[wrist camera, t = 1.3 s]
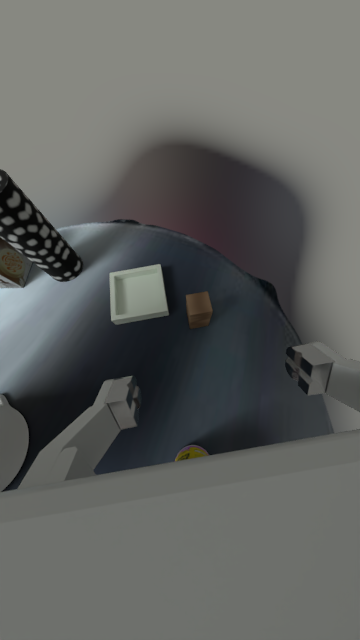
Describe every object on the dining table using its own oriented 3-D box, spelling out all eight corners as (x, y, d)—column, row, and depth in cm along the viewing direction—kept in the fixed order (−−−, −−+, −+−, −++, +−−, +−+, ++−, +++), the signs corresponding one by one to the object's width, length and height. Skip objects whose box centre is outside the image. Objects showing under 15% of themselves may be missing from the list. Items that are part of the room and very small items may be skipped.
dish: (116, 324, 39) (111, 320, 37) (114, 279, 43) (109, 273, 41) (169, 315, 39) (167, 310, 37) (161, 270, 43) (160, 264, 41)
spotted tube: (76, 249, 47) (1, 161, 28) (88, 271, 45) (14, 189, 26) (47, 264, 46) (-52, 182, 27) (57, 287, 43) (-44, 214, 25)
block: (190, 328, 38) (190, 315, 30) (186, 312, 39) (185, 295, 32) (208, 325, 38) (212, 311, 30) (204, 309, 39) (207, 291, 32)
